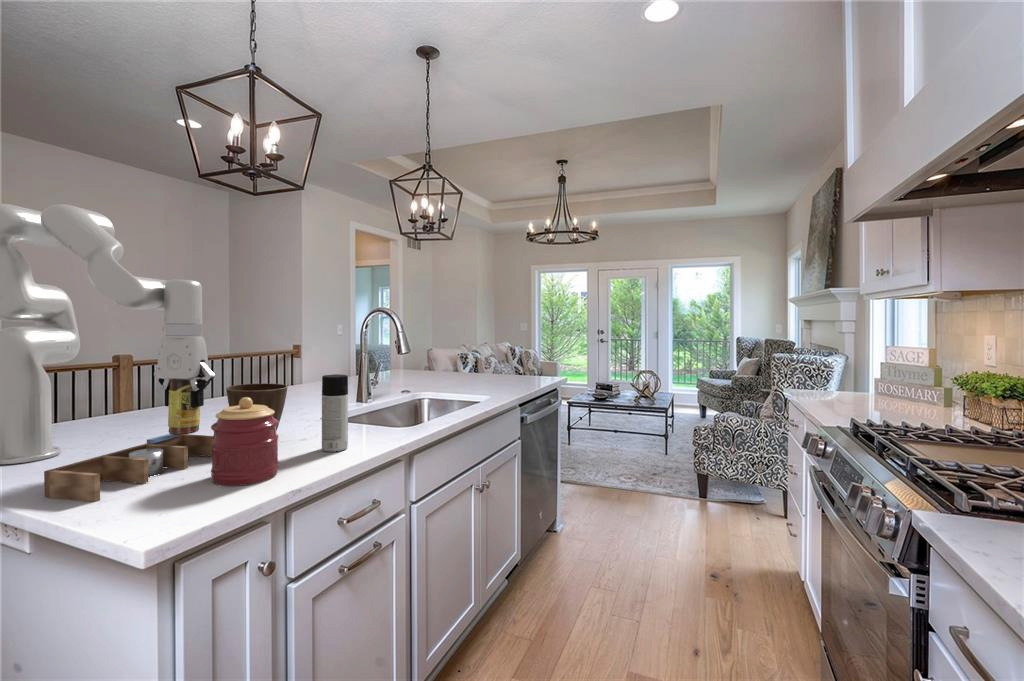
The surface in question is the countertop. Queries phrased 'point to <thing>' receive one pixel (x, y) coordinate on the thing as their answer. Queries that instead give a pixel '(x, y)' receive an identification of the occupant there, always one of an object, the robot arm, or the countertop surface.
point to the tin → (151, 459)
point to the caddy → (121, 467)
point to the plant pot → (260, 396)
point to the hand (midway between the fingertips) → (184, 405)
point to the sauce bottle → (182, 409)
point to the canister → (244, 444)
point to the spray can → (334, 412)
